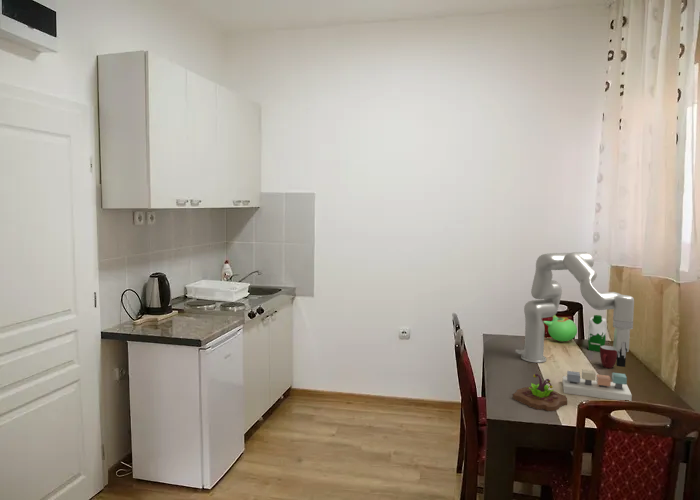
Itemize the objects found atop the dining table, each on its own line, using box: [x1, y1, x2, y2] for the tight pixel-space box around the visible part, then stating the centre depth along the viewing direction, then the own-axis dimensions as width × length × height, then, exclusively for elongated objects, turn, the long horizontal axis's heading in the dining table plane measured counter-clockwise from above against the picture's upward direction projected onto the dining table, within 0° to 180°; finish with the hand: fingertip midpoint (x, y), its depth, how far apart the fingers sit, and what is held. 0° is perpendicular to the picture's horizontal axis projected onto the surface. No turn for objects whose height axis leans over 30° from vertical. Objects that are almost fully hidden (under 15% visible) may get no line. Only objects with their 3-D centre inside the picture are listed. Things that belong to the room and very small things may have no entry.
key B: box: [581, 368, 597, 385], centre depth 220 cm, size 5×5×6 cm
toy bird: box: [542, 314, 578, 342], centre depth 299 cm, size 18×17×15 cm
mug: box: [599, 345, 617, 369], centre depth 251 cm, size 10×8×10 cm
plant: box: [512, 373, 568, 412], centre depth 209 cm, size 20×20×11 cm
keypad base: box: [562, 375, 633, 402], centre depth 219 cm, size 26×14×3 cm, turn 69°
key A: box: [566, 370, 581, 384], centre depth 222 cm, size 5×5×6 cm
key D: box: [611, 372, 628, 389], centre depth 215 cm, size 5×5×6 cm
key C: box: [595, 373, 612, 388], centre depth 218 cm, size 5×5×6 cm
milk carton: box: [587, 314, 608, 353], centre depth 281 cm, size 9×9×20 cm
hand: (620, 365), depth 214 cm, fingers closed
